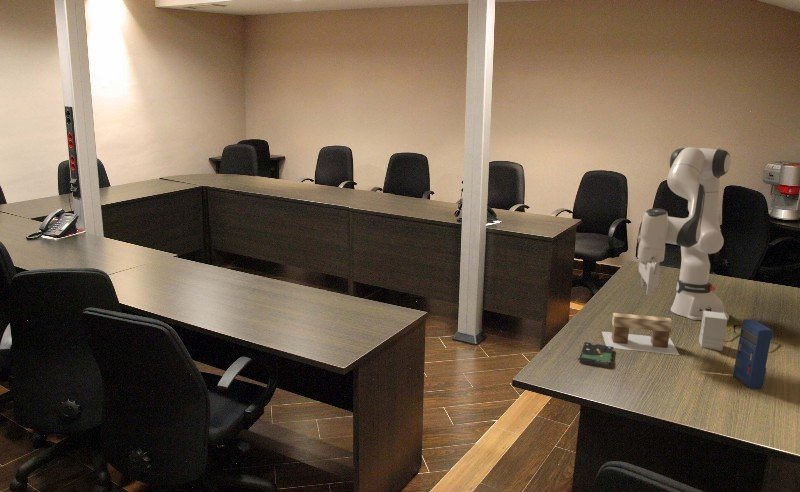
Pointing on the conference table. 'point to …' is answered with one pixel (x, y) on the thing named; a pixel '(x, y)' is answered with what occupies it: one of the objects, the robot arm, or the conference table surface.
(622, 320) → the plank
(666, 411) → the conference table surface
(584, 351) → the disk drive
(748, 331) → the electronic device
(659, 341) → the pillar
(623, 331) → the pillar
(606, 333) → the board
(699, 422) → the conference table surface
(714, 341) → the supplement box
